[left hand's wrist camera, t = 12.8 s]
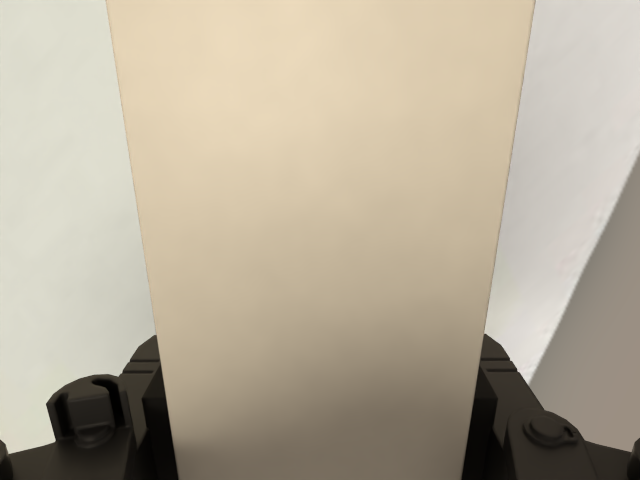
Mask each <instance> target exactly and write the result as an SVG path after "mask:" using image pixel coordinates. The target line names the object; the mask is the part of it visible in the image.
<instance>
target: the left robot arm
mask: <svg viewBox="0 0 640 480" xmlns="http://www.w3.org/2000/svg"><path fill="white" fill-rule="evenodd" d="M46 406H47V409H48V413H49V417H50V421H51V424H52V428H53V432H54V435H55V439H56V441H55V442H54V443H51V444H48V445H45V446H41V447H37V448H33V449H28V450H24V451H20V452H16V453H11V454H8V451H7V448H6V445H5V443H3V442H2V441H1V440H0V480H179V478H178V472H177V465H176V459H175V452H174V446H173V439H172V433H171V426H170V419H169V413H168V406H167V400H166V393H165V387H164V380H163V373H162V367H161V360H160V354H159V347H158V341H157V335H154V336H152V337H151V338H150V339H148V340H147V341H146V342H144V343H143V344H142V345H140V346H139V347H138V348H137V350H136V351H135V353H134V354H133V356H132V357H131V359H130V362H128V363H127V365H126V366H125V368H124V369H123V373H122V374H120V375H119V377H117V376H113V375H109V374H102V375H92V376H88V377H84V378H80V379H78V380H75V381H73V382H71V383H69V384H67V385H65V386H64V387H62V388H61V389H59V390H58V391H57V392H55V393H54V394H53V395H52V397H51V398H50V399H49V401H48V402H47V403H46ZM461 480H640V438H639V439H638V440H637V441H636V442H635V443H634V446H633V449H632V452H628V451H623V450H619V449H615V448H611V447H607V446H602V445H598V444H595V443H591V442H588V441H585V440H584V439H583V437H582V436H581V434H580V432H579V431H578V429H577V428H575V427H574V426H573V425H572V424H571V423H570V422H568V421H567V420H566V419H564V418H562V417H560V416H558V415H556V414H554V413H552V412H549V411H545V410H544V408H543V407H542V405H541V404H540V402H539V401H538V399H537V398H536V396H535V395H534V393H533V392H532V391H531V389H530V388H529V386H528V385H527V383H526V382H525V380H524V379H523V377H522V376H521V374H520V373H519V372H517V368H516V367H515V365H514V364H513V362H512V361H510V358H509V356H508V355H507V353H506V352H505V350H504V349H503V347H502V346H501V345H500V344H499V343H497V342H496V341H495V340H493V339H492V338H491V337H489V336H488V335H487V334H484V336H483V342H482V349H481V355H480V362H479V368H478V375H477V381H476V388H475V394H474V400H473V407H472V413H471V420H470V426H469V433H468V439H467V446H466V452H465V459H464V465H463V471H462V478H461Z"/></svg>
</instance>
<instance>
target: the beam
mask: <svg viewBox="0 0 640 480" xmlns="http://www.w3.org/2000/svg"><path fill="white" fill-rule="evenodd" d="M106 6H107V12H108V19H109V25H110V32H111V38H112V45H113V52H114V58H115V65H116V71H117V78H118V84H119V91H120V98H121V104H122V111H123V117H124V124H125V130H126V137H127V144H128V150H129V157H130V163H131V170H132V176H133V183H134V189H135V196H136V203H137V209H138V216H139V222H140V229H141V235H142V242H143V249H144V255H145V262H146V268H147V275H148V281H149V288H150V295H151V301H152V308H153V314H154V321H155V327H156V334H157V341H158V347H159V354H160V360H161V367H162V373H163V380H164V387H165V393H166V400H167V406H168V413H169V419H170V426H171V433H172V439H173V446H174V452H175V459H176V465H177V472H178V478H179V480H461V478H462V471H463V465H464V459H465V452H466V446H467V439H468V433H469V426H470V420H471V413H472V407H473V400H474V394H475V388H476V381H477V375H478V368H479V362H480V355H481V349H482V342H483V336H484V329H485V323H486V317H487V310H488V304H489V297H490V291H491V284H492V278H493V271H494V265H495V258H496V252H497V246H498V239H499V233H500V226H501V220H502V213H503V207H504V200H505V194H506V187H507V181H508V175H509V168H510V162H511V155H512V149H513V142H514V136H515V129H516V123H517V116H518V110H519V103H520V97H521V91H522V84H523V78H524V71H525V65H526V58H527V52H528V45H529V39H530V32H531V26H532V20H533V13H534V7H535V0H106Z"/></svg>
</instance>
